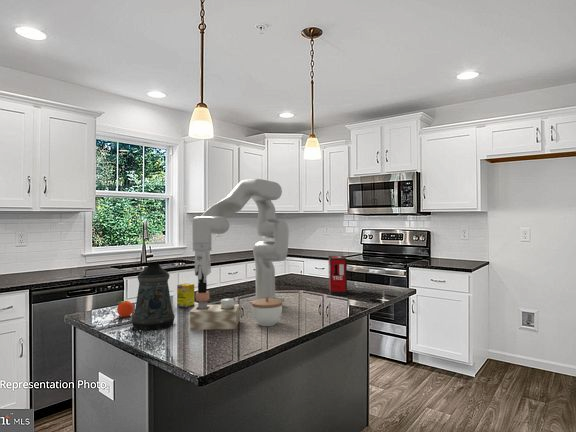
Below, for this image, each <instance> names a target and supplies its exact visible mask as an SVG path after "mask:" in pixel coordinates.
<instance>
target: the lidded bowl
mask: <svg viewBox="0 0 576 432" xmlns="http://www.w3.org/2000/svg"><path fill="white" fill-rule="evenodd" d="M282 311H283V302H282V301H281V300H279V299H272V298H268V297H266V298H265V299H257V300H256V299H254V300H252V301H251V313H252V316H253V319H254V320H255V322H257V324H258V325H259V326H261V327H272V326H276V325H277V323H278V322H279V320H280V319H281V316H282Z"/></svg>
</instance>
